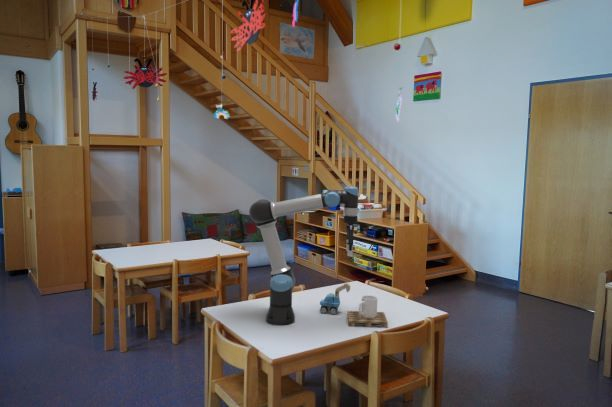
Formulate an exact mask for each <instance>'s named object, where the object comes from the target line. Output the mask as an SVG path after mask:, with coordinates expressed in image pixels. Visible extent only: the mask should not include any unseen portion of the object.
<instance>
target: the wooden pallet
mask: <svg viewBox="0 0 612 407" xmlns="http://www.w3.org/2000/svg"><path fill="white" fill-rule="evenodd" d="M346 311H347V313H346V314H347V316H346V317H347V323H348V327H355V324H364V327H366V328H367V327H368V328H372V324H380V327H381V328H385V329H387V328H388V324H389V323H388V320H387V319H388V318H387V317H386V314H385V312H384V311H377V316H376V317H375V318H364V317H362V315H361V314H359V310H346Z"/></svg>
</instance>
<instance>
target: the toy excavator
mask: <svg viewBox="0 0 612 407" xmlns="http://www.w3.org/2000/svg"><path fill="white" fill-rule="evenodd" d="M344 290H346V293H349V292H350V290H351V285H350V284H349V283H348V282H344V283H343V285H340V286H338V287H336V288H335V291H334V293H327V294H326V296H325V297H324V299H321V300H320V301H319V305H320V308H319V311H320V313H321V314H326V313H327V312H329V314H332V315H336V314H337V312H338V309H339V308H340V306H341V301H340V292H341V291H344Z"/></svg>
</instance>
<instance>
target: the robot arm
mask: <svg viewBox="0 0 612 407" xmlns="http://www.w3.org/2000/svg"><path fill="white" fill-rule="evenodd" d="M338 205H343V222H344V223H347V224H346V228H345V229H346V244H345V245H346V249H345V251H346V252H347V257H353V256H354V255H353V254H354V233H355V232H354V231H355V226H354V225H353V224H357V223H358V212H359V210H360V209H358V207H359V188H358V187H357V186H345V187H344V189H342V190H338V189H323V190H322V193H318V194H313V195H307V196H303V197H297V198H293V199H287V200H282V201H276V202H273V201H270V200H269V199H259V200H257V201H255V202H254V203H252V204H251V206H250V207H249V210H248V211H249V212H248V213H249V214H248V215H249V217H250V219H251V220H252V221H253V222H254V223H255V226H256V228H258V229H260V233H261V237H262V239H263V243H264V248H265V250H266V253H267V254H266V255H267V257H268V261H269V263H270V267H271V272H269V273H270V277H271V278H270V281H269V308H268V311H267V313H266V315H265V316H266V318H265V319H266V320H265V321H266V322H267V323H268V324H271V325H276V326H285V325H286V326H287V325H291V324H293V323H295V321H296V320H295V318H296V316H295V313H294V310H293V306H292V304H293V291H294V289H295V286H296V277H295V276H294V274H293V271H292V269H291V266H289V265H287V260H286V258H285V255H284V251H283V248H282V244H281V240H280V237H279V234H278V233H279V232H278V230H277V227H276V223H277V221H278V220H277V218H279V217H284V216H290V215H294V214H299V213H305V212H308V211H314V210H315V211H316V210H320V209H326V208H333V207H337V206H338Z"/></svg>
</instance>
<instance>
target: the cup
mask: <svg viewBox="0 0 612 407" xmlns="http://www.w3.org/2000/svg"><path fill="white" fill-rule="evenodd" d="M358 311H359V314H361V315H362V317H364V318H375V317H376V316H377V312H378V297H377V296H376V295H367V294H366V295H363V296H361V301H360V302H359V304H358Z"/></svg>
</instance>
